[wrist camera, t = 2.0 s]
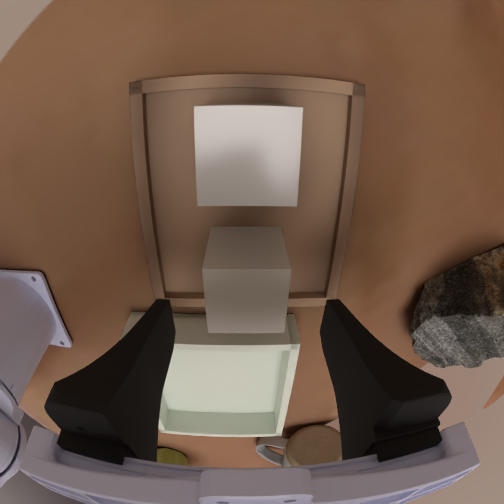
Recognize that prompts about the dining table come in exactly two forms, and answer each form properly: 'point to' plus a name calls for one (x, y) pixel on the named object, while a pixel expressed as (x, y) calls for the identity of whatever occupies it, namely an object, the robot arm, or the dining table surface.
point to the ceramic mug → (303, 447)
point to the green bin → (226, 379)
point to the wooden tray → (204, 217)
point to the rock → (462, 314)
